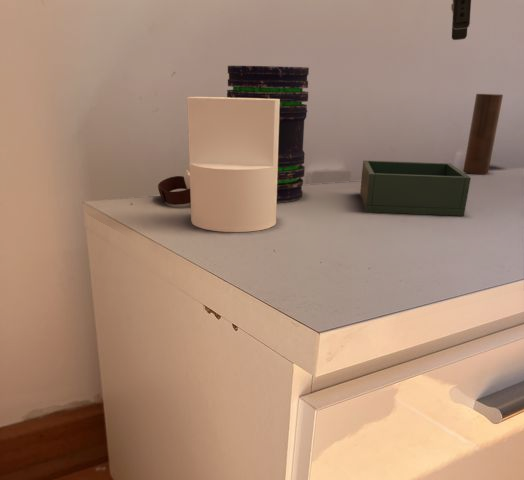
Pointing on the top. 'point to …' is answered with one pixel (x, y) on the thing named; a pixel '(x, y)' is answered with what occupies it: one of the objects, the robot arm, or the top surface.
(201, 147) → the cylinder with rectangular tab
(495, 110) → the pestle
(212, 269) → the top surface
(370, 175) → the bin
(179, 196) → the watch
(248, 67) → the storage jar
